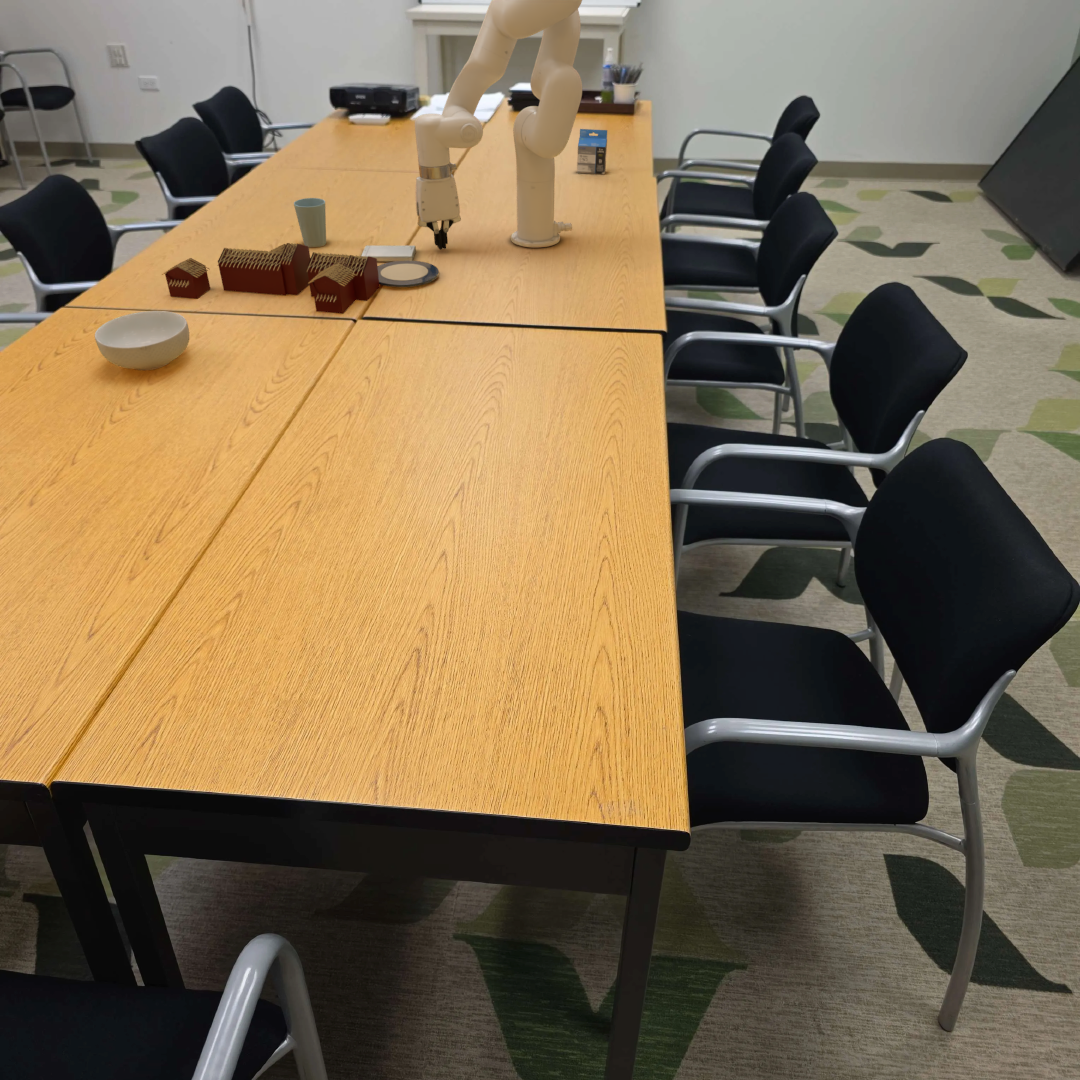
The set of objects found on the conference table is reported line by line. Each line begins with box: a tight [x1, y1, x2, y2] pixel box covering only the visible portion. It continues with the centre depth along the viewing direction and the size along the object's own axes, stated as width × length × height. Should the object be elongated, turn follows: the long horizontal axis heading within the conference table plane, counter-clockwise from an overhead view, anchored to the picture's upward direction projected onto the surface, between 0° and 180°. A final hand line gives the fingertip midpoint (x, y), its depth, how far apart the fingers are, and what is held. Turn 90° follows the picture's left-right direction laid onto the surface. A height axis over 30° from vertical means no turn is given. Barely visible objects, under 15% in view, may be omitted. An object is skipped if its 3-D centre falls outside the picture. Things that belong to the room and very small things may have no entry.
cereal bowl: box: [94, 310, 190, 371], centre depth 175 cm, size 17×17×7 cm
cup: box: [293, 197, 327, 248], centre depth 230 cm, size 8×8×10 cm
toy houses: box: [161, 242, 381, 315], centre depth 204 cm, size 45×20×10 cm, turn 79°
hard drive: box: [360, 244, 417, 262], centre depth 226 cm, size 2×8×12 cm
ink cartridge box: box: [576, 128, 608, 175], centre depth 286 cm, size 9×4×12 cm, turn 81°
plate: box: [377, 260, 440, 288], centre depth 214 cm, size 16×16×1 cm
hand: (441, 247), depth 229 cm, fingers closed
